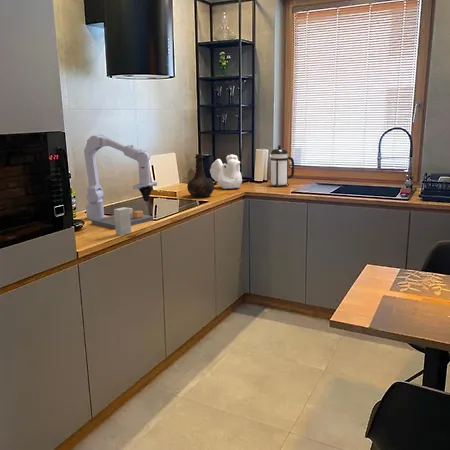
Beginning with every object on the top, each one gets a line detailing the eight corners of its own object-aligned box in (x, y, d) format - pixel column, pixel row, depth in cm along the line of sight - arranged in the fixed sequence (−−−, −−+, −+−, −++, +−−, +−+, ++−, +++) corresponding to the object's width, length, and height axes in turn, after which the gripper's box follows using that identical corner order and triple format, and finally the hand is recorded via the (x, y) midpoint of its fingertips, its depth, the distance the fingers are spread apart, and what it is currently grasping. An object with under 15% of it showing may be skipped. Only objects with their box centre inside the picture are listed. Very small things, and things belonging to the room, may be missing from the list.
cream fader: (122, 214, 246) (122, 209, 245) (128, 212, 249) (128, 207, 248) (127, 215, 244) (126, 209, 243) (133, 213, 247) (132, 208, 246)
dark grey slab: (91, 223, 236) (91, 219, 235) (129, 215, 254) (129, 211, 253) (115, 229, 223) (115, 225, 223) (153, 220, 241) (153, 216, 240)
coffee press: (287, 188, 333) (287, 146, 326) (266, 187, 340) (266, 145, 333) (294, 184, 348) (294, 144, 341) (274, 183, 355) (274, 144, 348)
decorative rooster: (246, 188, 336) (246, 153, 331) (232, 191, 325) (231, 155, 319) (221, 185, 353) (220, 152, 347) (206, 188, 341) (205, 154, 335)
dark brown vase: (210, 199, 297) (209, 155, 290) (184, 198, 301) (182, 155, 294) (217, 194, 314) (216, 152, 307) (191, 193, 318) (190, 152, 311)
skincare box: (125, 231, 218) (123, 207, 215) (131, 233, 216) (129, 208, 213) (115, 234, 214) (113, 209, 211) (121, 235, 211) (119, 210, 208)
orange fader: (132, 216, 239) (132, 211, 238) (138, 215, 242) (138, 210, 241) (137, 217, 236) (137, 212, 236) (143, 216, 239) (143, 211, 239)
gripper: (138, 177, 231) (140, 204, 234) (160, 174, 242) (161, 199, 245) (129, 176, 236) (131, 202, 239) (151, 173, 246) (153, 198, 249)
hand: (146, 201), depth 242 cm, fingers closed
